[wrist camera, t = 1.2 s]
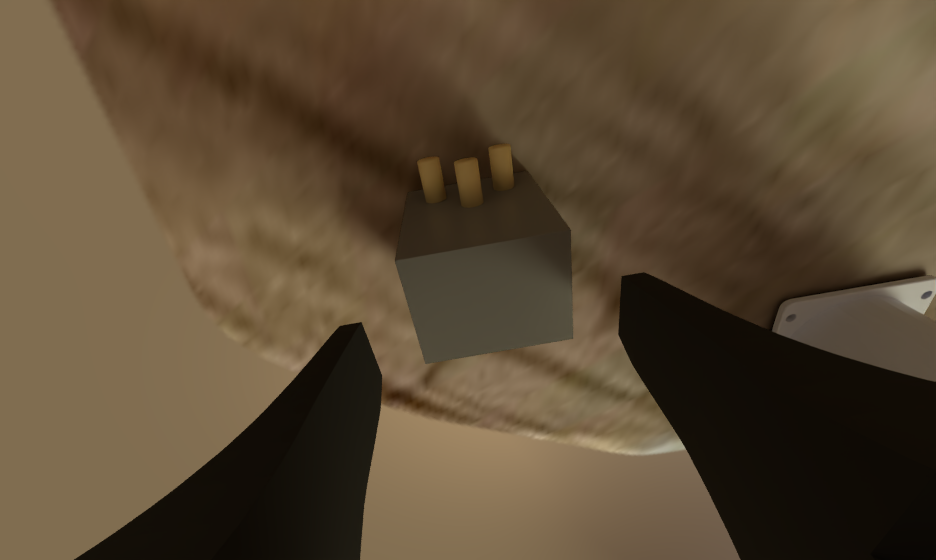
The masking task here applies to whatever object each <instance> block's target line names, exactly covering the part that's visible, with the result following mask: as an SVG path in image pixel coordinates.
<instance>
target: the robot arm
mask: <svg viewBox="0 0 936 560" xmlns="http://www.w3.org/2000/svg"><path fill="white" fill-rule="evenodd" d="M935 294H936V277H934V276H932V275H927V276H922V277H916V278H910V279H904V280H898V281H892V282H887V283H881V284H875V285H869V286H863V287H857V288H852V289H846V290H840V291H834V292H828V293H822V294H817V295H811V296H805V297H799V298H793V299H789V300H786V301H785V302H783V303H782V304H781V305H780V307H779V310H778V313H777V316H776V319H775V322H774V325H773V329H772V331H770V330H767V329H765V328H762V327H760V326H758V325H755V324H753V323H751V322H748V321H746V320H744V319H741V318H739V317H737V316H734V315H732V314H730V313H728V312H726V311H723V310H721V309H719V308H717V307H715V306H713V305H711V304H709V303H706V302H704V301H702V300H700V299H698V298H696V297H694V296H692V295H690V294H688V293H686V292H684V291H682V290H680V289H678V288H676V287H674V286H672V285H670V284H668V283H666V282H664V281H662V280H660V279H658V278H656V277H654V276H651V275H649V274H647V273H644V272H643V273H638V274H632V275H626V276H622V279H621V297H620V315H619V333H618V335H619V337H620V339H621V341H622V344H623V346H624V348H625V350H626V352H627V354H628V356H629V359H630V361H631V363H632V365H633V366H634V368H635V370H636V371H637V373H638V374H639V376H640V378H641V379H642V381H643V382H644V384H645V385H646V387H647V389H648V390H649V392H650V393H651V395H652V396H653V398H654V399H655V401H656V402H657V404H658V406H659V407H660V409H661V410H662V412H663V413H664V415H665V416H666V418H667V419H668V421H669V422H670V424H671V426H672V427H673V429H674V430H675V432H676V433H677V435H678V436H679V438H680V440H681V441H682V443H683V445H684V446H685V448H686V450H687V452H688V453H689V455H690V457H691V459H692V461H693V463H694V465H695V467H696V469H697V470H698V473H699V474H700V476H701V478H702V480H703V482H704V484H705V486H706V488H707V490H708V492H709V494H710V496H711V498H712V500H713V502H714V504H715V506H716V508H717V510H718V513H719V515H720V517H721V519H722V521H723V523H724V525H725V527H726V529H727V531H728V533H729V535H730V537H731V539H732V542H733V544H734V546H735V548H736V550H737V553H738V555H739V557H740V559H741V560H936V321H934V320H932V319H931V318H929V317H927V316H925V315H924V313H925V311H926V309H927V308H928V306H929V304H930V302H931V301H932V299H933V297H934V295H935ZM381 392H382V374H381V371H380V369H379V366H378V364H377V361H376V359H375V356H374V353H373V351H372V348H371V346H370V343H369V340H368V338H367V335H366V333H365V330H364V327H363V325H362V322H360V323H354V324H348V325H343V326H339V327H338V329H337V330H336V331H335V332H334V333H333V334H332V335H331V336H330V338H329V339H328V340H327V341H326V342H325V343H324V345H323V346H322V347H321V348H320V349H319V351H318V352H317V353H316V354H315V355H314V357H313V358H312V359H311V360H310V361H309V362H308V364H307V365H306V366H305V367H304V368H303V369H302V371H301V372H300V373H299V374H298V375H297V376H296V378H295V379H294V380H293V381H292V382H291V383H290V384H289V385H288V386H287V387H286V388H285V389H284V390H283V392H282V393H281V394H280V395H279V396H278V397H277V398H276V399H275V400H274V401H273V402H272V403H271V404H270V406H269V407H268V408H267V409H266V410H265V411H264V412H263V413H262V414H261V415H260V416H259V417H258V418H257V419H256V420H255V421H254V422H253V423H252V424H251V425H249V426H248V427H247V428H246V429H245V430H244V431H243V432H242V433H241V434H240V435H239V436H238V437H236V438H235V439H234V440H233V441H232V442H231V443H230V444H229V445H228V446H227V447H225V448H224V449H223V450H222V451H221V452H220V453H219V454H218V455H216V456H215V457H214V458H212V459H211V460H210V461H209V462H207V463H206V464H205V465H204V466H203V467H202V468H200V469H199V470H198V471H196V472H195V473H194V474H193V475H192V476H190V477H189V478H188V479H187V480H185V481H184V482H183V483H182V484H181V485H179V486H178V487H177V488H176V489H174V490H173V491H172V492H170V493H169V494H168V495H166V496H165V497H164V498H162V499H161V500H160V501H158V502H157V503H156V504H155V505H153V506H152V507H151V508H149V509H148V510H146V511H145V512H143V513H142V514H141V515H139V516H138V517H136V518H135V519H133V520H132V521H131V522H129V523H128V524H127V525H125V526H124V527H122V528H121V529H120V530H118V531H117V532H115V533H114V534H112V535H111V536H109V537H108V538H106V539H105V540H103V541H102V542H100V543H99V544H97V545H96V546H95V547H93V548H91V549H90V550H88V551H87V552H85V553H84V554H82V555H81V556H79V557H77V558H76V559H74V560H360V551H361V537H362V525H363V512H364V503H365V495H366V489H367V483H368V477H369V471H370V466H371V460H372V455H373V450H374V444H375V439H376V433H377V427H378V421H379V416H380V408H381Z"/></svg>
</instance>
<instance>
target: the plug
mask: <svg viewBox="0 0 936 560" xmlns="http://www.w3.org/2000/svg"><path fill="white" fill-rule="evenodd" d="M488 151H489V159H490V166H491V174H492V177H490V178H484V179H480V174H479V167H478V160H477V158H473V157H470V158H463V159H459V160H457V161H455V162H454V167H455V173H456V178H457V184H451V185H446V186H444V181H443V176H442V171H441V166H440V161H439V157H436V156H433V157H426V158H423V159H420V160H418V161H417V164H418V168H419V173H420V177H421V181H422V186H423V190H418V191H413V192H408V194H407V199H406V204H405V210H404V215H403V220H402V226H401V231H400V236H399V242H398V247H397V252H396V257H395V263H396V266H397V270H398V273H399V276H400V280H401V283H402V287H403V290H404V293H405V297H406V300H407V303H408V307H409V310H410V313H411V317H412V320H413V323H414V327H415V330H416V334H417V337H418V340H419V344H420V347H421V350H422V354H423V357H424V360H425V364H428V363H434V362H440V361H446V360H452V359H457V358H463V357H469V356H475V355H481V354H487V353H492V352H498V351H504V350H510V349H516V348H522V347H527V346H533V345H539V344H545V343H551V342H557V341H562V340H568V339H573V309H572V268H571V230H570V228H569V227H568V225H567V224H566V223H565V221H564V220H563V219H562V217H561V216H560V215H559V213H558V212H557V210H556V209H555V208H554V206H553V205H552V204H551V202H550V201H549V199H548V198H547V197H546V195H545V194H544V193H543V191H542V190H541V189H540V187H539V186H538V184H537V183H536V182H535V180H534V179H533V178H532V176H531V175H530V174H529V172H528V171H523V172H517V173H513V166H512V156H511V146H510V144H497V145H493V146H490V147H489V148H488Z"/></svg>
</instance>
